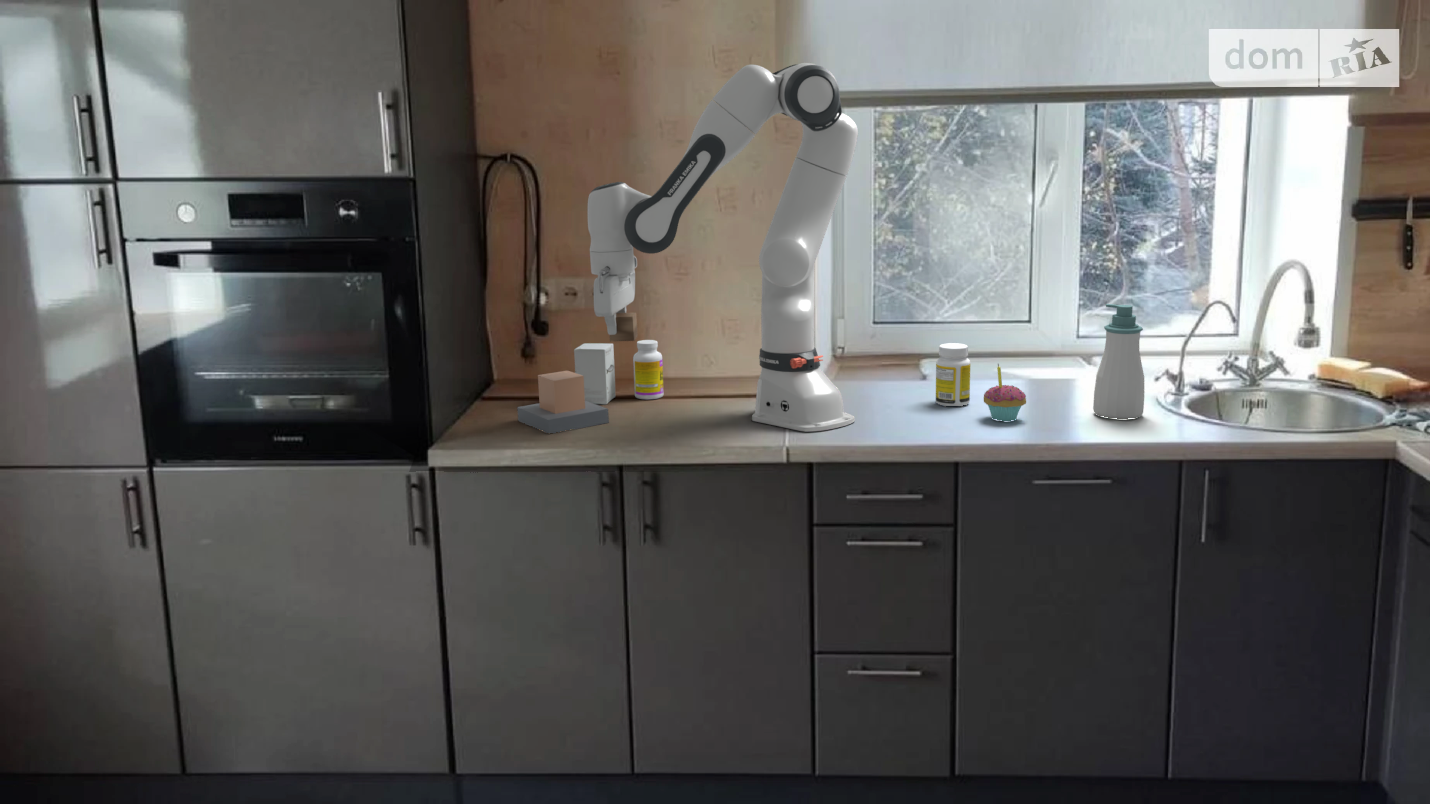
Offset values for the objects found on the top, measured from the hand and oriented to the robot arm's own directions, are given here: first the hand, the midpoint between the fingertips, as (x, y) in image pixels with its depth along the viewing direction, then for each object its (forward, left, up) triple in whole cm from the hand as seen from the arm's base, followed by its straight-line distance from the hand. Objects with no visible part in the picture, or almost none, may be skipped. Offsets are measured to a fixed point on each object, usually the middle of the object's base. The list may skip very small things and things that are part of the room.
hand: (616, 331), depth 235 cm
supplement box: (+20, -6, -20) cm, 29 cm away
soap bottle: (-63, -82, -20) cm, 105 cm away
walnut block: (-1, -1, -2) cm, 2 cm away
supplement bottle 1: (+15, -17, -20) cm, 30 cm away
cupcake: (-50, -62, -20) cm, 82 cm away
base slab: (+8, +9, -19) cm, 23 cm away
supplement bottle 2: (-34, -64, -20) cm, 75 cm away
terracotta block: (+8, +9, -16) cm, 20 cm away
